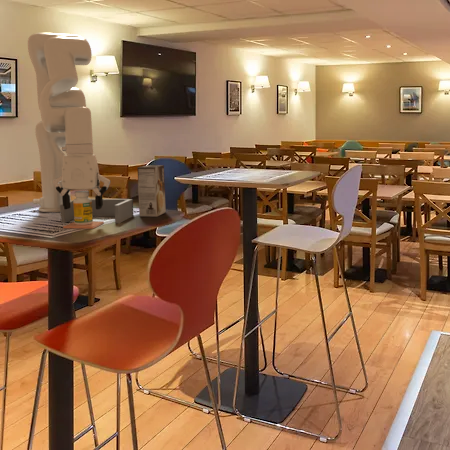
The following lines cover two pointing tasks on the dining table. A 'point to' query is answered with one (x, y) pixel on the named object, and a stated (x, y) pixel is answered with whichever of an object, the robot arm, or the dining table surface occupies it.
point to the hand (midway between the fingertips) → (83, 208)
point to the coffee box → (151, 190)
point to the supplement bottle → (82, 208)
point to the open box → (103, 210)
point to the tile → (89, 226)
